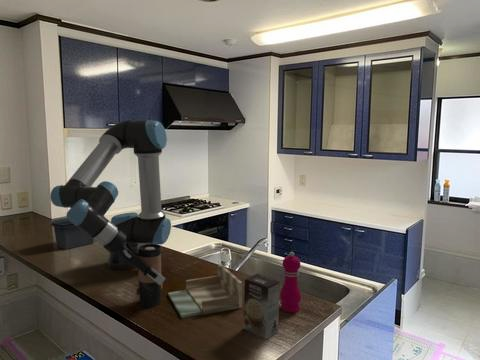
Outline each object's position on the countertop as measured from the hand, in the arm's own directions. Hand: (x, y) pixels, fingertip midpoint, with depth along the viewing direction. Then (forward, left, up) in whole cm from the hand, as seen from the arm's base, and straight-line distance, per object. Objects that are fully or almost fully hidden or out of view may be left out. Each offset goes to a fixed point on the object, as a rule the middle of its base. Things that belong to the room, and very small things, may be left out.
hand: (159, 277), depth 131 cm
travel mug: (0, -3, -9) cm, 9 cm away
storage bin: (-85, -27, -9) cm, 90 cm away
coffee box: (+32, +24, -9) cm, 41 cm away
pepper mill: (+23, +40, -9) cm, 47 cm away
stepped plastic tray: (+6, +14, -9) cm, 18 cm away
